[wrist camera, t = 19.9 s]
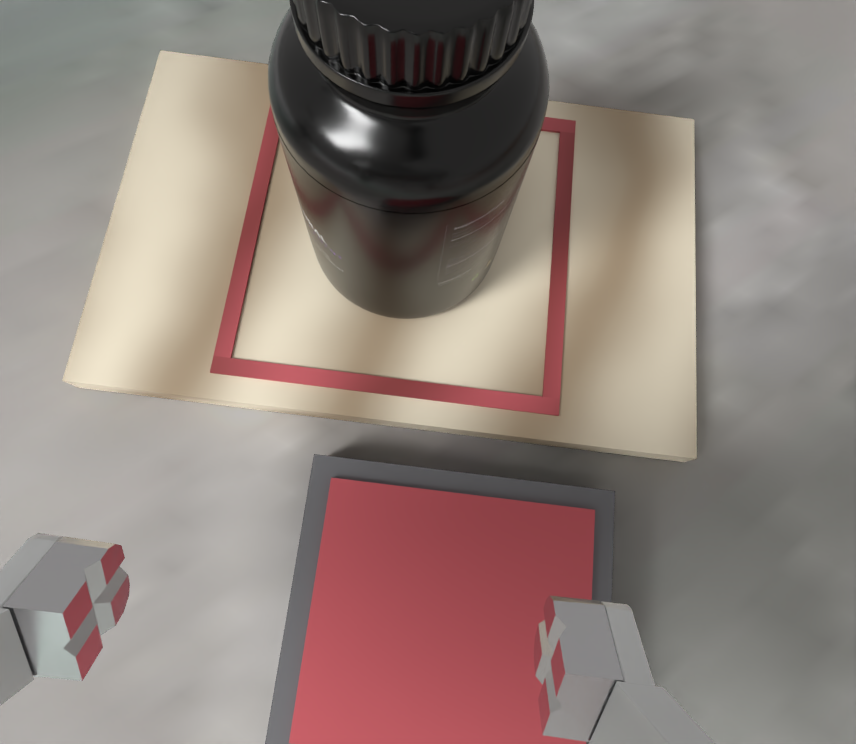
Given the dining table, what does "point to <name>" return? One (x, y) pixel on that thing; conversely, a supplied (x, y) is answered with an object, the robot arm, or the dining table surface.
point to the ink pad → (429, 603)
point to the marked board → (390, 337)
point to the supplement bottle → (407, 139)
